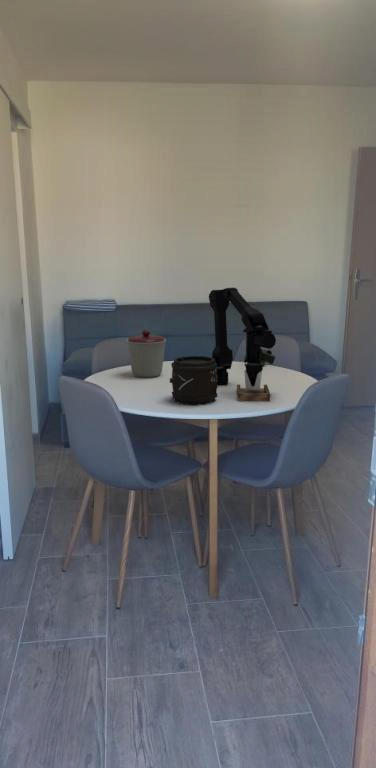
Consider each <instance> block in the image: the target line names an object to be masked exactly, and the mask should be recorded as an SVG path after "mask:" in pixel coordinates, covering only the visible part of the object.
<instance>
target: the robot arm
mask: <svg viewBox="0 0 376 768" xmlns="http://www.w3.org/2000/svg"><path fill="white" fill-rule="evenodd" d="M208 300H209V306H210V308H211V309H212V311H213V313H214V314H213V315H214V316H213V317H214V334H215V335H214V339H215V340H214V341H215V346H214V348H213V350H212V352H211V353H212V354H211V358H214V360H215V362H216V364H217V366H218V367H217V368H216V369H217V386H221V385H222V386H224V385H225V386H226V385H228V383H229V372H228V370H231V369H232V366H233V365H232V364H233V361H234V357H233V349H230V347H229V345H228V326H227V310H228V308H229V306H230V303H231V305H232V306H233V308H235V310H236V311H238V313H239V314H240V316H241V319H240V320H241V321H242V324H243V325H244V326H245V328H244V329H243V331H242V332H243V333H245V356H244V358H243V363H244V367H245V370H246V372H247V375H248V377H249V380H250V383H251V386H255V382H256V378H257V374H258V373H259V372H261V371H262V372H263V369H264V366H263V365H262V364H261V363H260V362H262V361H265V363H268V364H270V365H273V364H274V362H275V360H276V355H275V354H272V352H273V351H272V350H270V349H272V348H274V346H275V345H276V342H277V339H276V337H275V334H273V333H272V332H273V331H272V330H271V329H269V325H268V323H267V321H266V318H265V315H264V313H262V312H261V311H260V310H259V309H257V308H255V307H252V306H251V305H250V304H249V302H247V300H246V299H245V298H244V297H243V295H241V293H240V292H239V290H238V288H237V287H226V288H223V289H212V290H211V291H210V293H209V295H208ZM263 349H267V350H266V352H265V351H262V350H263Z"/></svg>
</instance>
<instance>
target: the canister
mask: <svg viewBox="0 0 376 768" xmlns="http://www.w3.org/2000/svg"><path fill="white" fill-rule="evenodd" d="M141 333H142V335H141V334H140V335H139V334H138V335H134V336H133V335H132V336H130V337H128V338H127V339H126V340H125V343H127V348H128V349H127V350H128V355H129V362H130V368H131V372H132V375H134V376H135V377H137V376H138V378H143V377H149V378H155V377H158V376H160V375H161V374H162V373H163V367H164V366H163V365H164V357H165V345H166V341H167V339H166V338H165V337H163V336H161V335H158V334H157V335H156V334H155V335H154V334H151V331H150V330H149V329H143V330H142V331H141Z"/></svg>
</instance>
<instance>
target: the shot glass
mask: <svg viewBox="0 0 376 768" xmlns="http://www.w3.org/2000/svg"><path fill="white" fill-rule="evenodd" d="M243 372H244V385H245V388H246V389H249V390H258V389H260V388H261V384H262V383H261V382H262V373H263V371H261V372H259V373H258V374H257V378H256V382H255V386H251V383H250V380H249V377H248V375H247V372H246V369H244V371H243Z"/></svg>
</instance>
